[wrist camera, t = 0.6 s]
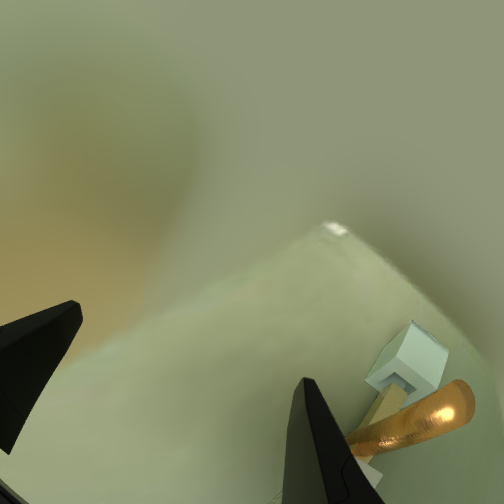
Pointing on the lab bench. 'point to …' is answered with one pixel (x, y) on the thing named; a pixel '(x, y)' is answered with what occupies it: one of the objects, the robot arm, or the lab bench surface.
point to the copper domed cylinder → (410, 419)
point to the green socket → (410, 363)
